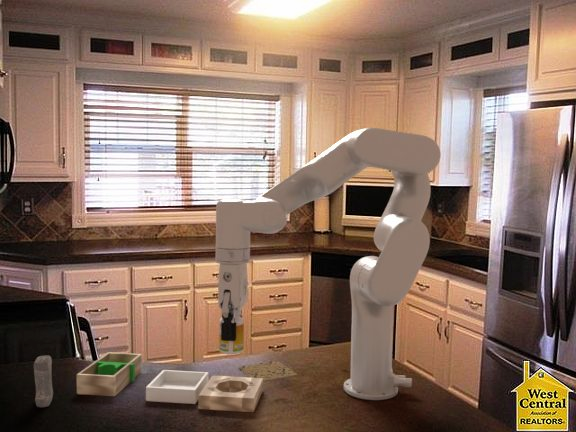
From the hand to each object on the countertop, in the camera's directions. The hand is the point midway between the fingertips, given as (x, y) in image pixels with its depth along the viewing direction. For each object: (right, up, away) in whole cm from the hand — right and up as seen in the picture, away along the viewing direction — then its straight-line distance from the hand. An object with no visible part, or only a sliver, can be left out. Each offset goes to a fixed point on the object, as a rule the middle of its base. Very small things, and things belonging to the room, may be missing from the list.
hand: (231, 335), depth 124 cm
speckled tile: (+7, -14, +19) cm, 25 cm away
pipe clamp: (-30, -13, +11) cm, 35 cm away
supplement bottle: (0, -4, 0) cm, 4 cm away
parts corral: (-30, -13, +11) cm, 35 cm away
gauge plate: (0, -14, +1) cm, 15 cm away
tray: (-13, -14, +5) cm, 20 cm away
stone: (-41, -14, -2) cm, 43 cm away
